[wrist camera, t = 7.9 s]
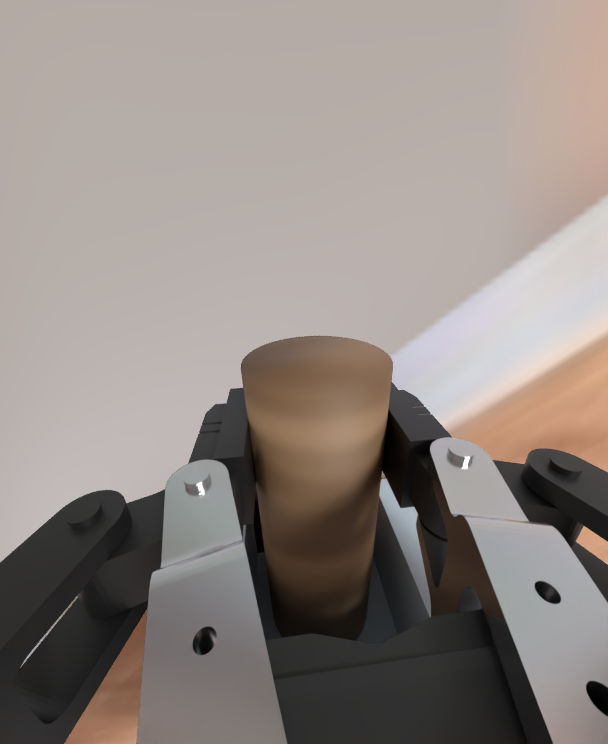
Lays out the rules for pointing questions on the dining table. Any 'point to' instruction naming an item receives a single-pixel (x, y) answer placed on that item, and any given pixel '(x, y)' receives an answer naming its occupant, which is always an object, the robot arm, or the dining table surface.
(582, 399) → the dining table surface
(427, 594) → the sleeve block
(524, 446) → the dining table surface
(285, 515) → the dowel
